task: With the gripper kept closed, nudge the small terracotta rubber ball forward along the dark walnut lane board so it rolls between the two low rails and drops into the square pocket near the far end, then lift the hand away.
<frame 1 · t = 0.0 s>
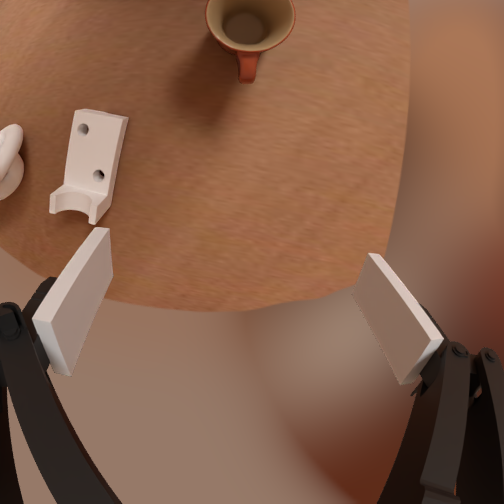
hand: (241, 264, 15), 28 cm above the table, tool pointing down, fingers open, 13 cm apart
mug: (242, 43, 32), on the table
white knot: (11, 157, 34), on the table
bracket: (98, 156, 37), on the table
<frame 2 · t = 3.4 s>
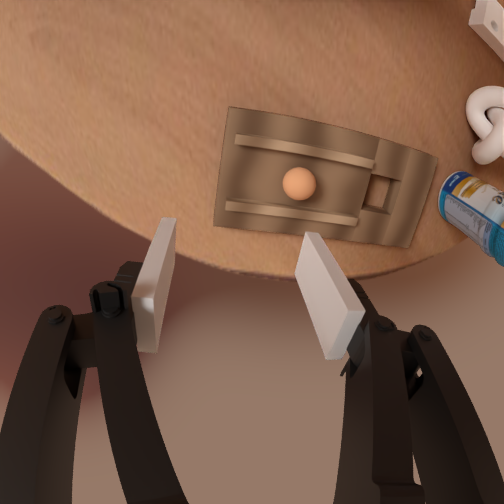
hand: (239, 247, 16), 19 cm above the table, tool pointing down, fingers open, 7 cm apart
white knot: (481, 125, 32), on the table
ball: (299, 183, 30), point 4 cm above the table, touching lane board
bracket: (495, 35, 24), on the table
beverage bottle: (454, 195, 37), on the table
lane board: (330, 179, 35), on the table
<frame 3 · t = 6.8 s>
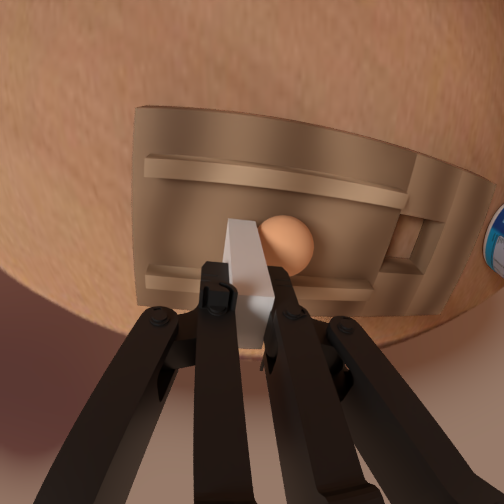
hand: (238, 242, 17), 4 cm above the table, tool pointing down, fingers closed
ball: (282, 246, 17), point 4 cm above the table, tilted 23°, touching gripper, lane board
beverage bottle: (503, 231, 23), on the table
lane board: (330, 222, 21), on the table
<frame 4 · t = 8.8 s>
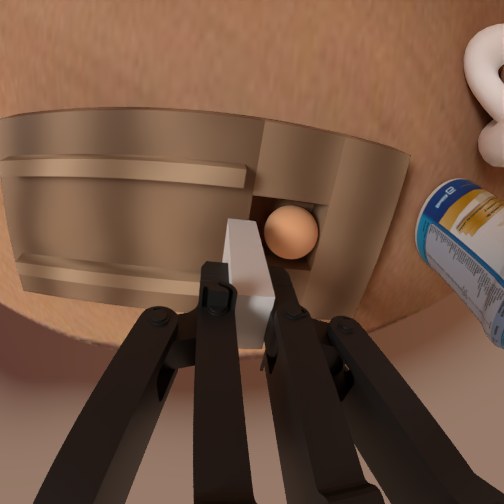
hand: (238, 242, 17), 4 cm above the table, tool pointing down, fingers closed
white knot: (493, 99, 17), on the table
ball: (291, 232, 19), point 2 cm above the table, tilted 40°
beverage bottle: (447, 220, 22), on the table
lane board: (187, 210, 19), on the table
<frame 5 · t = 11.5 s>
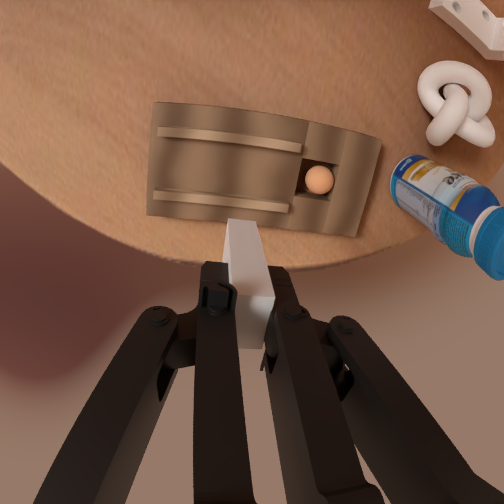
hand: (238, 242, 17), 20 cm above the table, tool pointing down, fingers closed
white knot: (440, 106, 32), on the table
ball: (319, 179, 34), point 2 cm above the table, tilted 39°
bracket: (462, 18, 25), on the table
beverage bottle: (411, 181, 37), on the table
lane board: (263, 167, 35), on the table
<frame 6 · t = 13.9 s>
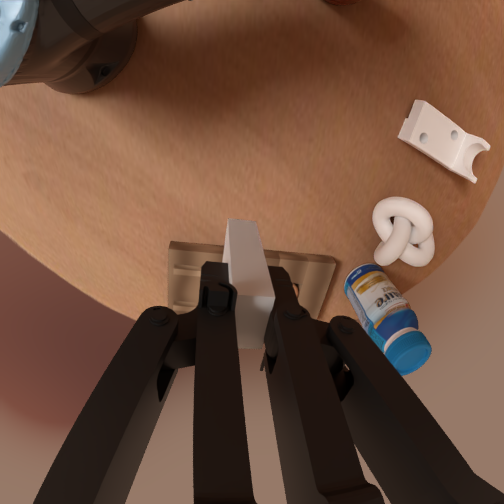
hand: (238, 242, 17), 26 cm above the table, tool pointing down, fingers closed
white knot: (393, 222, 48), on the table
ball: (288, 291, 50), point 2 cm above the table, tilted 38°
bracket: (431, 135, 41), on the table
beverage bottle: (362, 280, 53), on the table
lane board: (248, 283, 50), on the table
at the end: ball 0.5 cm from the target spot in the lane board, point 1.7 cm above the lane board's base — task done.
